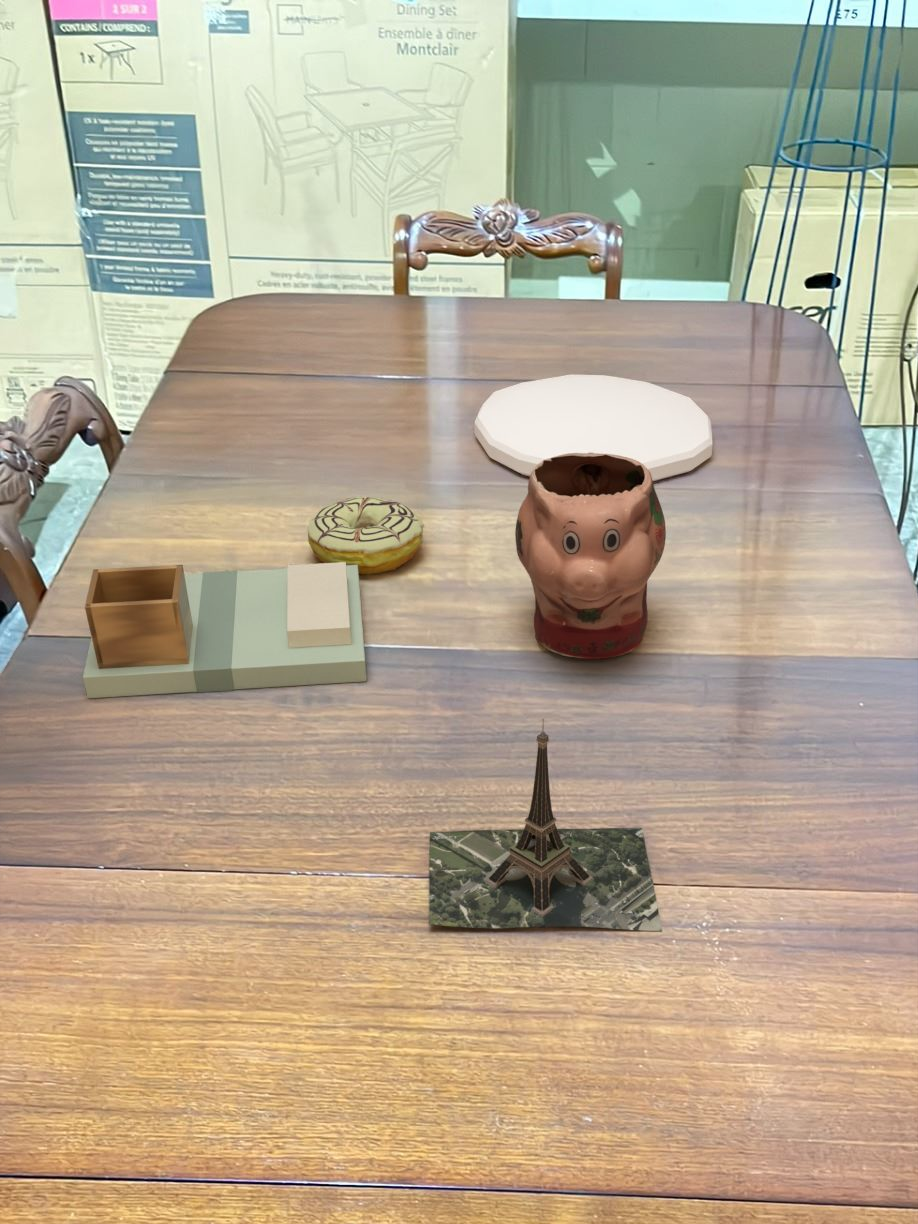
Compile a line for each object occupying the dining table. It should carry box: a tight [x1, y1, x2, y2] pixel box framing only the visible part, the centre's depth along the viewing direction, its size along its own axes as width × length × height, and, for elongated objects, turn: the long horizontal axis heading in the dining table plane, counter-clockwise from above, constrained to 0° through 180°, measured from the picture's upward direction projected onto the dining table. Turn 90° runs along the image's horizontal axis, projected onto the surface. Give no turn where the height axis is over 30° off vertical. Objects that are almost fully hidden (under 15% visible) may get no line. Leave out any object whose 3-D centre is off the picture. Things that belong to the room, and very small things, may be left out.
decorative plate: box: [474, 373, 714, 482], centre depth 144 cm, size 25×4×25 cm
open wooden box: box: [84, 564, 193, 669], centre depth 107 cm, size 7×6×6 cm
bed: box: [82, 562, 368, 699], centre depth 113 cm, size 22×16×4 cm
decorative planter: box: [514, 453, 667, 659], centre depth 112 cm, size 20×12×14 cm, turn 3°
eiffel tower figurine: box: [428, 718, 663, 932], centre depth 86 cm, size 15×10×13 cm
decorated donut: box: [307, 496, 425, 575], centre depth 124 cm, size 10×11×4 cm
